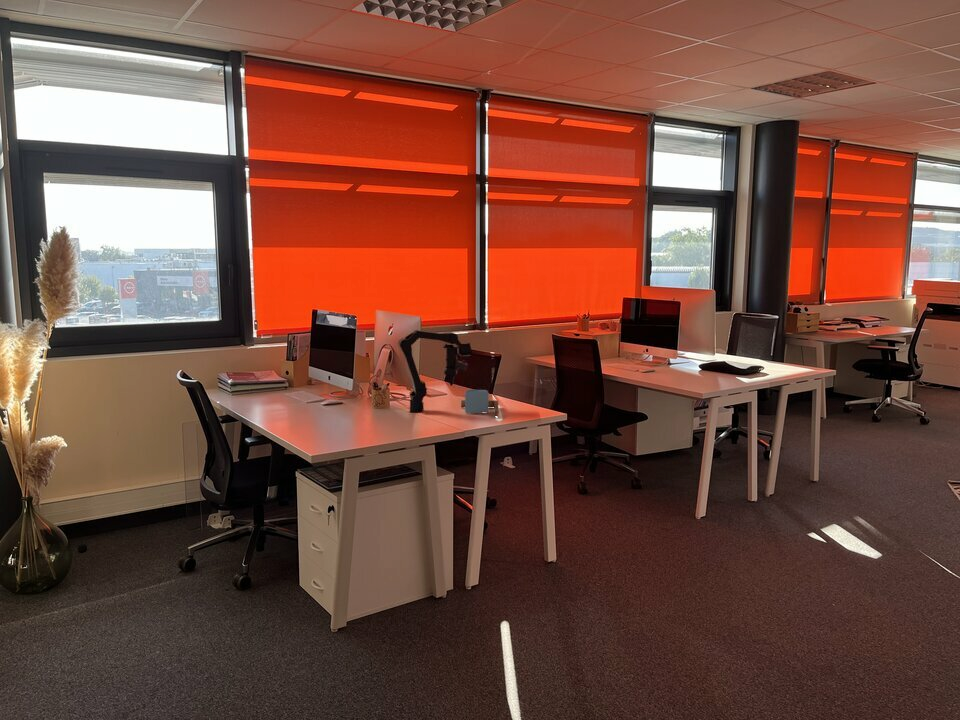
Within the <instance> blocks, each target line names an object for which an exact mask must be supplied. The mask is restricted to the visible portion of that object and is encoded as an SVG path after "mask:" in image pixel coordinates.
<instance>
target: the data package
mask: <svg viewBox="0 0 960 720" xmlns="http://www.w3.org/2000/svg"><path fill="white" fill-rule="evenodd" d="M464 394H465V395H464V400H465V408H464V412H465V413H466V414H467V413H482V412H488V413H489V408H488V400H489V390H486V389H467V390H465V393H464Z"/></svg>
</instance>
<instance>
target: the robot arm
mask: <svg viewBox="0 0 960 720" xmlns="http://www.w3.org/2000/svg"><path fill="white" fill-rule="evenodd" d="M458 336H459V335H458V334H456V333H454V332H452V331H448V332H446V331H445V332H435V331H434V332H433V331H426V330H418V329H414V330H413V332H411V333H410V334H408V335H406V336H405V337H401V338H400V339H398V341H397V346H398V347H399V349H400V352H401V354H402V355H403V356H404V357H403V358H404V359H405V363H406V366H407V369H408V371H409V374H410V378H411V381H412V392H411V393H410V394H409V395H408V396H409V397H410V400H409V413H423V411H424V410H425V409H424V408H425V407H424V406H425V403H424V397H426V395H427V393H428V392H427V391H428V388H427V386H426V382H425V381H424V380H421V378H420V375H419V372H418V368H417V366H416V363H415V360H414V357H413V348H412V346H413V345H414V344H415V343H416V342H417V341H418V340H419V339H425V340H432V341H441V342H444V344H443V345H442V346H441V348H443V349H445V355H446V356H445V369H444V372H443V373H444V375H445V376H446V378H447V380H448V383H449V385H450V386H453V384H454V380H455V379H454V378H455V376H456V375H457V374H458V371H459V369H460V370H462V371H465V372H466V370H467V368H468V363H467V361H466V360H464V359H463V360H462V361H460V360H458V359H459V358H458V355H459V357H470V356H472V347H471V343H470V342H466V343H463V342H460V340H459V337H458Z"/></svg>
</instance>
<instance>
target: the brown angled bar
mask: <svg viewBox="0 0 960 720" xmlns="http://www.w3.org/2000/svg"><path fill="white" fill-rule="evenodd" d="M461 407H465V399H461V401H460V408H461ZM488 407H494V408H493V409H494V410H493V411H494V412H493V417H494V416H498V417H499V400H494V399H492V400H490V399H488Z"/></svg>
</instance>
